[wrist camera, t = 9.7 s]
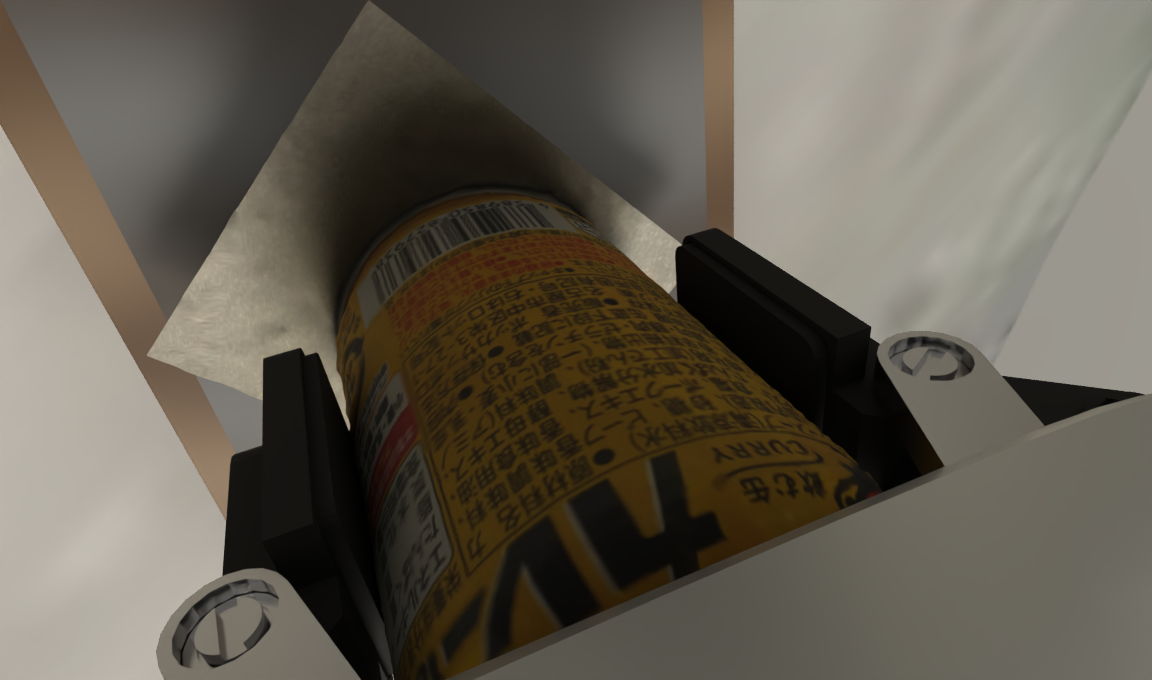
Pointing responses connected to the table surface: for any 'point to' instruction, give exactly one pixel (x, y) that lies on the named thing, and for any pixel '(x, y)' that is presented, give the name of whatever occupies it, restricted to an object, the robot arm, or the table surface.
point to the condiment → (495, 361)
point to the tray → (272, 99)
